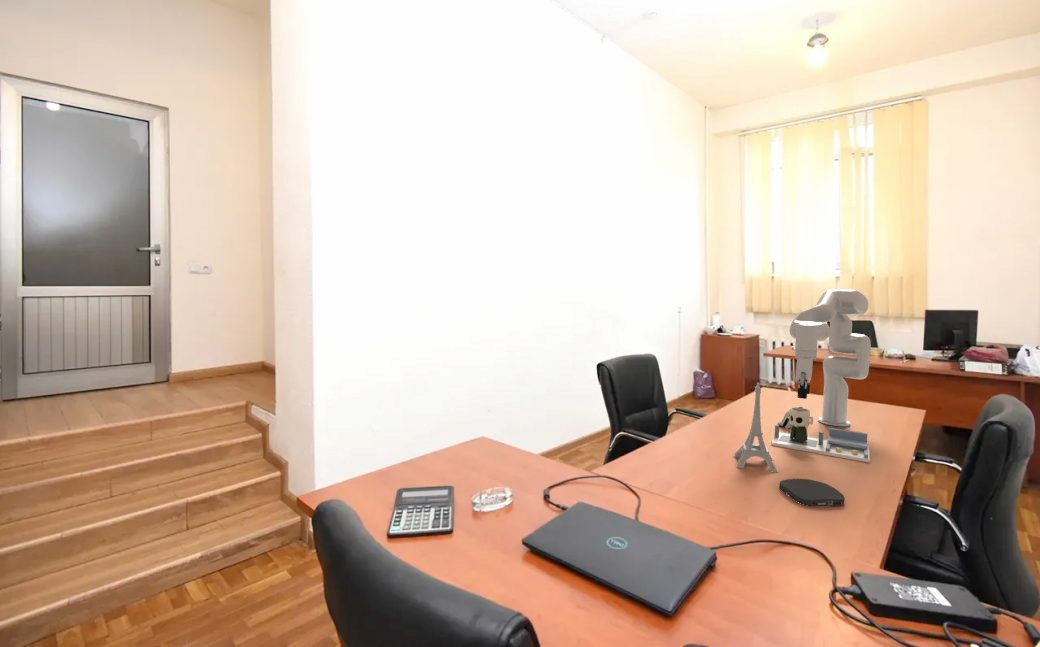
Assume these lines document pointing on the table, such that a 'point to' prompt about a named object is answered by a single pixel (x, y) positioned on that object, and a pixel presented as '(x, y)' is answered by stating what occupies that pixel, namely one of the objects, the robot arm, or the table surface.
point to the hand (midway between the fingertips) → (803, 395)
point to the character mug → (799, 423)
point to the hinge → (786, 421)
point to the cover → (848, 438)
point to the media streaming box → (812, 492)
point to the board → (820, 446)
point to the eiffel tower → (755, 431)
